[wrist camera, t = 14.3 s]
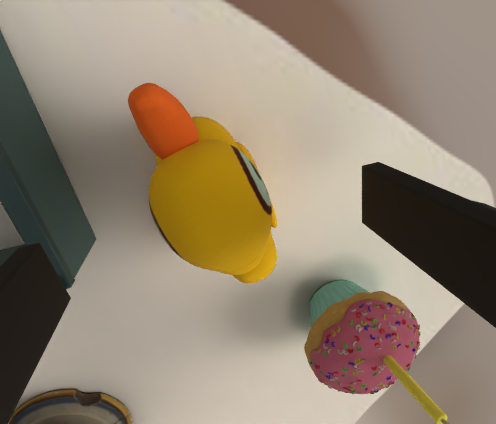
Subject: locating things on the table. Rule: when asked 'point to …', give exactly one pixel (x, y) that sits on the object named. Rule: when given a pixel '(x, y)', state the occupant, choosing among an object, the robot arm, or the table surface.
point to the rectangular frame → (37, 180)
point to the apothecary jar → (72, 409)
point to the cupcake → (364, 342)
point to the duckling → (205, 189)
